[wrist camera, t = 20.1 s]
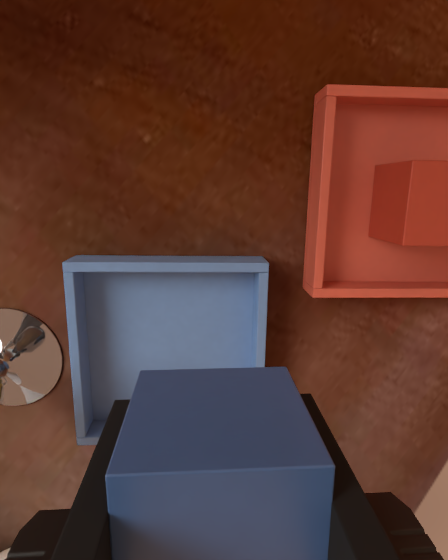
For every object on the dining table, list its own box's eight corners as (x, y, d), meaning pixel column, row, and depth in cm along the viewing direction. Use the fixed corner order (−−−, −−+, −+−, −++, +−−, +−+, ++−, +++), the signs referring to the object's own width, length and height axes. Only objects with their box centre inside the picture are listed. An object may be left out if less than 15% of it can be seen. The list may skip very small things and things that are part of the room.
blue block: (139, 369, 12) (104, 476, 7) (286, 365, 12) (336, 465, 8) (146, 495, 13) (118, 654, 8) (281, 490, 13) (323, 641, 9)
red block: (374, 165, 24) (412, 159, 20) (443, 166, 25) (495, 161, 20) (367, 236, 25) (402, 246, 21) (433, 237, 26) (481, 246, 21)
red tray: (314, 94, 24) (327, 83, 21) (504, 100, 25) (537, 90, 22) (302, 288, 26) (312, 297, 24) (473, 287, 27) (500, 297, 25)
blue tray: (75, 255, 25) (61, 262, 23) (262, 255, 26) (269, 262, 23) (87, 423, 28) (76, 445, 25) (256, 419, 29) (261, 441, 26)
